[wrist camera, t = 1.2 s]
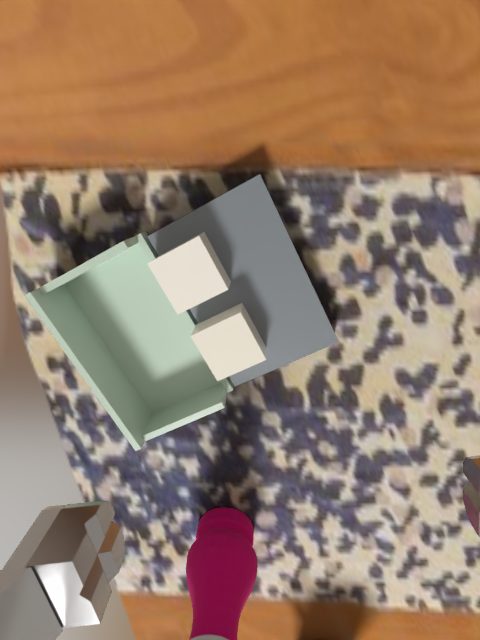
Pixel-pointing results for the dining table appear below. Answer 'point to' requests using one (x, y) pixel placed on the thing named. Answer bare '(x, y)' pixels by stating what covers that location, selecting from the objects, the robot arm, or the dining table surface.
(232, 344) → the tile back
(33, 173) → the dining table surface
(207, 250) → the tile front
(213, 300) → the slate plate
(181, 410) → the bin
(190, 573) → the pepper mill
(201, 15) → the dining table surface
